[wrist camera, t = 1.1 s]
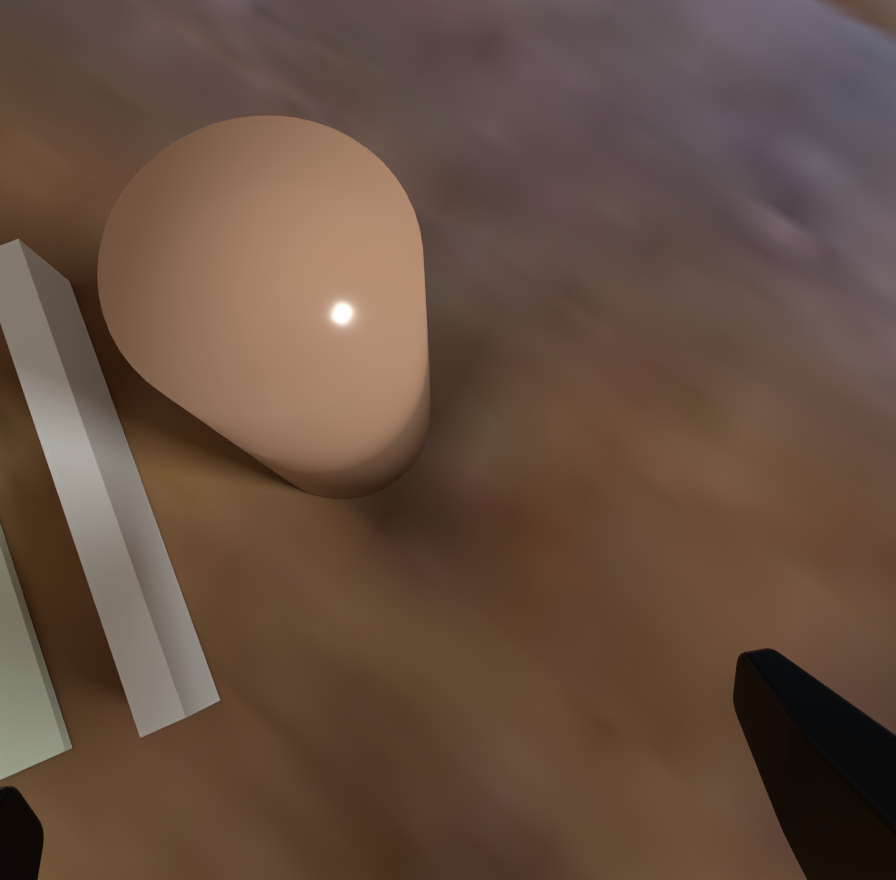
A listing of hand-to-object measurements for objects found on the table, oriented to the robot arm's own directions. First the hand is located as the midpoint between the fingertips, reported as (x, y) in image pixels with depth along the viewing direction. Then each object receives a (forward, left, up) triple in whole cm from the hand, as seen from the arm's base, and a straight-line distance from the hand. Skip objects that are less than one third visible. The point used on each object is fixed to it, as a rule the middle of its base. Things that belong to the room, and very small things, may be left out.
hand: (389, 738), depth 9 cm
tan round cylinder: (+6, +5, -13) cm, 15 cm away
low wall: (+1, +10, -13) cm, 17 cm away
